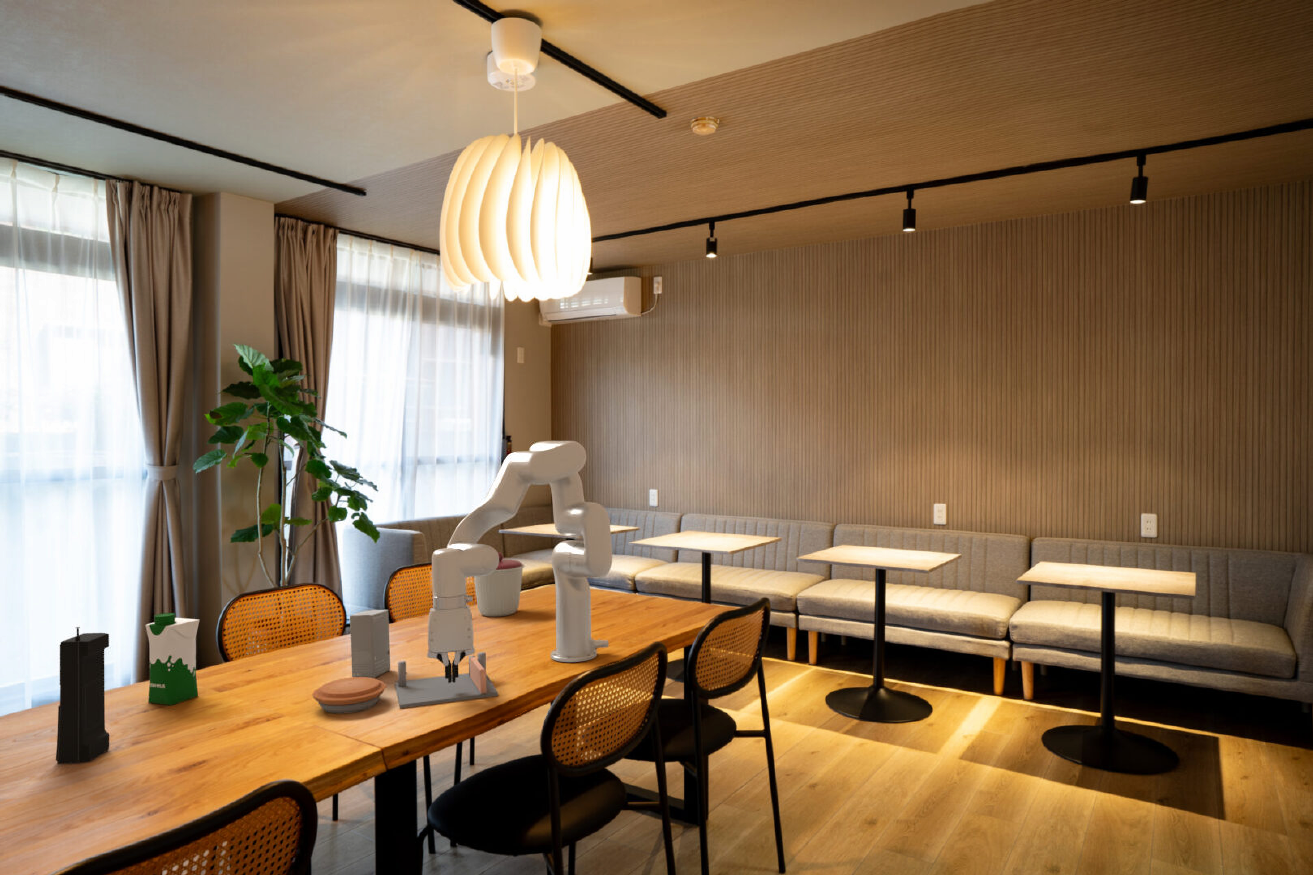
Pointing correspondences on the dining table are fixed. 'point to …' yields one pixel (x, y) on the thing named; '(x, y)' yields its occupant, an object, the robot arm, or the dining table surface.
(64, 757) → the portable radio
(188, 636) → the milk carton
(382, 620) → the skincare box
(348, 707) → the pie
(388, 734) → the dining table surface
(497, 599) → the canister
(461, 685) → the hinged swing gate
